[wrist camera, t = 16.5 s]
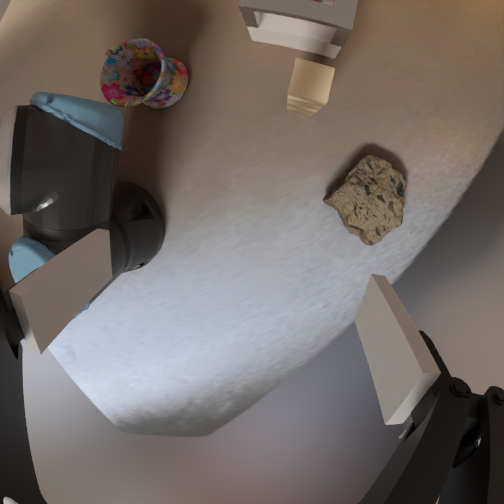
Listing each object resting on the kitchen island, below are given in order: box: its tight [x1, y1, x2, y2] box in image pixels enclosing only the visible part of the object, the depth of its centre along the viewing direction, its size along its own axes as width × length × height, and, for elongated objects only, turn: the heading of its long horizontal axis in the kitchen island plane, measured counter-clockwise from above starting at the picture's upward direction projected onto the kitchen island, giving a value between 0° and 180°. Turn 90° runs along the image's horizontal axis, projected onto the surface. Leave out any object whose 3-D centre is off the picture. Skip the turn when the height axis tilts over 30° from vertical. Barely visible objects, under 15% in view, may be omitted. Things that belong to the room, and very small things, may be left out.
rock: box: [323, 155, 407, 246], centre depth 38 cm, size 11×12×4 cm
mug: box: [100, 38, 188, 109], centre depth 31 cm, size 12×9×11 cm
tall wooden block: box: [287, 58, 335, 116], centre depth 28 cm, size 4×4×16 cm
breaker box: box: [247, 0, 341, 59], centre depth 27 cm, size 12×12×6 cm
